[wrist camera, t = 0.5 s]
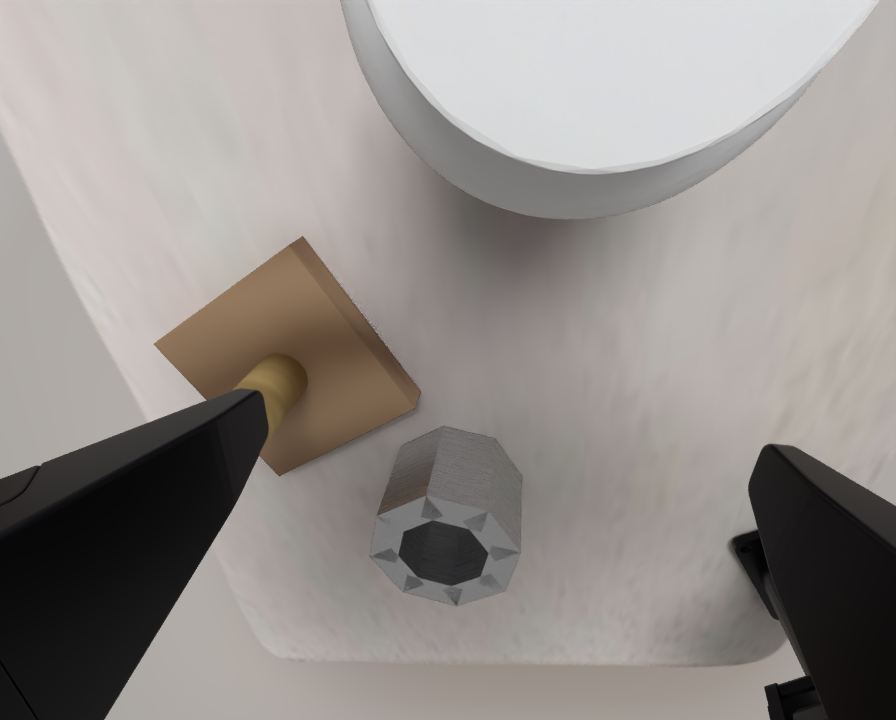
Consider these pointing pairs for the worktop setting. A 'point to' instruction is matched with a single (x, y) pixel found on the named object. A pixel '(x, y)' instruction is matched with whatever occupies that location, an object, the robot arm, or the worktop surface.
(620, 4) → the pill bottle
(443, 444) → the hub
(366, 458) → the worktop surface
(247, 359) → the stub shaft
